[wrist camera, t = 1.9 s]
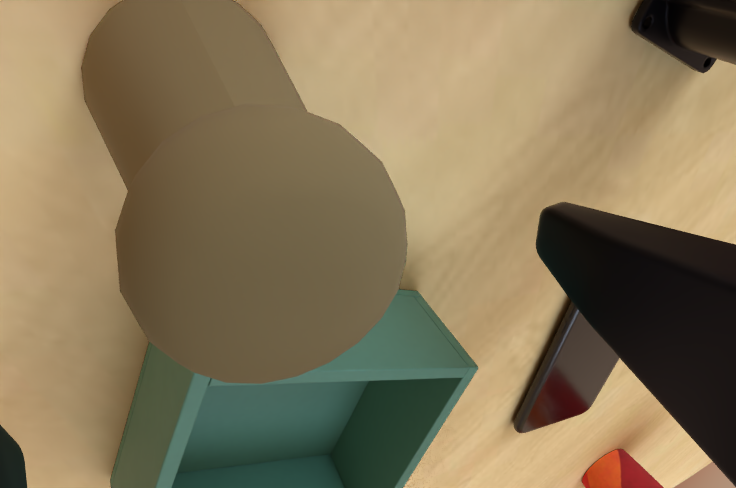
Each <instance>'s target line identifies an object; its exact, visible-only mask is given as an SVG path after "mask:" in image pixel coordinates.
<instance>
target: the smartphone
mask: <svg viewBox="0 0 736 488" xmlns="http://www.w3.org/2000/svg"><path fill="white" fill-rule="evenodd" d="M618 360H619V357H618V355H617V354H616V353H615V352H614V351H613V350H612V349H611V348H610V347H609V345H608V344H607V343H606V342H605V341H604V340H603V339H602V338H601V337H600V335H599V334H598V333H597V332H596V331H595V330H594V329H593V328H592V326H591V325H590V324H589V323H588V322H587V320H586V319H585V318H584V317H583V315H582V314H581V313H580V312H579V310H578V309H577V308H576V306H575V305H574V304H573V302H571V304H570V306H569V308H568V310H567V312H566V314H565V316H564V319H563V321H562V323H561V325H560V327H559V329H558V331H557V333H556V335H555V337H554V339H553V341H552V344H551V346H550V348H549V350H548V352H547V354H546V356H545V358H544V360H543V362H542V364H541V366H540V369H539V371H538V373H537V375H536V377H535V379H534V381H533V383H532V385H531V387H530V389H529V391H528V394H527V396H526V398H525V400H524V402H523V404H522V406H521V408H520V410H519V412H518V414H517V416H516V419H515V421H514V428H515V430H516V431H517V432H519V433H526V432H529V431H532V430H535V429H538V428H541V427H544V426H547V425H550V424H553V423H556V422H559V421H562V420H565V419H568V418H571V417H574V416H577V415H580V414H582V413H584V412H586V411H587V410H588V409H589V408H590V407H591V405H592V404H593V402H594V401H595V399H596V397H597V396H598V394H599V392H600V390H601V389H602V387H603V385H604V384H605V382H606V380H607V378H608V377H609V375H610V373H611V372H612V370H613V368H614V367H615V365H616V363H617V361H618Z"/></svg>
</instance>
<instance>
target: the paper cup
mask: <svg viewBox="0 0 736 488" xmlns="http://www.w3.org/2000/svg"><path fill="white" fill-rule="evenodd" d="M582 483H583V485H584V486H585V488H664V487H662V486H661V485H660V484H659V483H658V482H657V481H656V480H655V479H654V478H653V477H652V476H651V475H650V474H649V473H648V472H647V471H646V470H645V469H644V468H643V467H642V466H641V465H640V464H638V463H637V462H636V461H635V460H634V459H633V458H632V457H631V456H630V455H629V454H628V453H627V452H625V451H624V450H623V449H617V450H614V451H612V452H610V453H608V454H606V455H605V456H603V457H602V458H600V459H599V460H598V461H597V462H595V463H594V464H593V465H592V466H591V467H590V468H589V469H588V471H587V472H586V473H585V475H584V476H583V479H582Z"/></svg>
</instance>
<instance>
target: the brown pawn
mask: <svg viewBox="0 0 736 488" xmlns="http://www.w3.org/2000/svg"><path fill="white" fill-rule="evenodd" d="M81 70H82V79H83V89H84V98H85V102H86V104H87V106H88V108H89V110H90V112H91V115H92V117H93V119H94V121H95V123H96V125H97V127H98V129H99V131H100V133H101V136H102V138H103V140H104V142H105V144H106V146H107V148H108V150H109V152H110V154H111V156H112V158H113V160H114V162H115V164H116V167H117V169H118V171H119V173H120V175H121V177H122V179H123V181H124V183H125V185H126V187H127V189H128V193H127V196H126V199H125V202H124V205H123V208H122V211H121V214H120V217H119V220H118V223H117V226H116V229H115V235H116V249H117V261H118V272H119V284H120V292H121V293H122V295H123V297H124V299H125V300H126V302H127V304H128V306H129V307H130V309H131V311H132V313H133V315H134V316H135V318H136V320H137V322H138V323H139V325H140V327H141V328H142V330H143V332H144V334H145V335H146V337H147V339H148V340H149V342H150V343H152V344H153V345H154V346H156V347H157V348H158V349H160V350H161V351H162V352H164V353H165V354H166V355H168V356H169V357H170V358H172V359H173V360H174V361H175V362H177V363H178V364H180V365H182V366H183V367H185V368H187V369H189V370H190V371H192V372H194V373H197V374H200V375H203V376H206V377H210V378H213V379H216V380H219V381H222V382H226V383H251V384H263V383H268V382H273V381H278V380H282V379H287V378H292V377H297V376H299V375H301V374H304V373H306V372H308V371H311V370H313V369H315V368H318V367H320V366H322V365H325V364H327V363H329V362H331V361H332V360H334V359H335V358H337V357H338V356H340V355H341V354H342V353H344V352H345V351H347V350H348V349H350V348H351V347H353V346H354V345H356V344H357V343H358V342H359V341H360V340H361V339H362V338H363V337H364V336H365V335H366V334H367V333H368V332H369V331H370V330H371V329H372V328H373V327H374V326H375V325H376V324H377V323H378V322H379V320H380V319H381V318H382V317H383V315H384V313H385V312H386V310H387V308H388V307H389V305H390V303H391V302H392V300H393V298H394V296H395V295H396V293H397V291H398V289H399V285H400V281H401V278H402V274H403V270H404V266H405V262H406V254H407V232H406V219H405V210H404V208H403V205H402V203H401V201H400V198H399V196H398V194H397V192H396V190H395V188H394V186H393V183H392V181H391V179H390V177H389V175H388V173H387V171H386V169H385V167H384V165H383V163H382V162H381V161H380V160H379V159H378V158H377V157H376V156H375V155H374V154H373V153H372V152H370V151H369V150H368V149H367V148H366V147H365V146H364V145H363V144H362V143H360V142H359V141H358V140H357V139H356V138H355V137H354V136H352V135H351V134H350V133H349V132H348V131H347V130H346V129H345V128H343V127H342V126H341V125H340V124H338V123H335V122H332V121H330V120H327V119H324V118H322V117H319V116H317V115H314V114H311V113H309V112H307V110H306V108H305V106H304V104H303V102H302V100H301V98H300V96H299V94H298V93H297V91H296V89H295V87H294V85H293V83H292V81H291V79H290V77H289V75H288V73H287V72H286V70H285V68H284V66H283V64H282V62H281V60H280V58H279V56H278V54H277V52H276V51H275V49H274V47H273V45H272V44H271V42H270V40H269V38H268V37H267V35H266V33H265V31H264V29H263V28H262V26H261V25H260V24H259V23H258V22H257V21H256V20H255V19H254V18H253V17H252V16H251V15H250V14H249V13H247V12H246V11H245V10H244V9H243V8H242V7H241V6H240V5H239V4H238V3H236V2H234V1H232V0H124V1H122V2H120V3H119V4H117V5H116V6H114V7H112V8H111V9H109V11H108V12H107V14H106V15H105V16H104V18H103V19H102V20H101V22H100V23H99V24H98V26H97V27H96V28H95V30H94V31H93V32H92V34H91V35H90V37H89V41H88V45H87V48H86V52H85V56H84V60H83V63H82V67H81Z"/></svg>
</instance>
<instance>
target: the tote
mask: <svg viewBox="0 0 736 488" xmlns="http://www.w3.org/2000/svg"><path fill="white" fill-rule="evenodd" d="M477 370H478V366H477V365H476V363H475V362H474V361H473V360H472V358H471V357H470V356H469V355H468V353H467V352H466V351H465V350H464V348H463V347H462V346H461V345H460V343H459V342H458V341H457V340H456V338H455V337H454V336H453V335H452V333H451V332H450V331H449V330H448V328H447V327H446V326H445V325H444V323H443V322H442V321H441V320H440V318H439V317H438V316H437V315H436V313H435V312H434V311H433V310H432V308H431V307H430V306H429V305H428V303H427V302H426V301H425V300H424V298H423V297H422V296H421V295H420V293H419V292H418V291H412V290H400V289H398V291H397V293H396V295H395V296H394V298H393V300H392V302H391V303H390V305H389V307H388V308H387V310H386V312H385V313H384V315H383V317H382V318H381V319H380V320H379V322H378V323H377V324H376V325H375V326H374V327H373V328H372V329H371V330H370V331H369V332H368V333H367V334H366V335H365V336H364V337H363V338H362V339H361V340H360V341H359V342H358V343H357V344H356V345H354V346H353V347H351V348H350V349H348V350H347V351H345V352H344V353H342V354H341V355H340V356H338V357H337V358H335V359H334V360H332V361H331V362H329V363H327V364H325V365H322V366H320V367H318V368H315V369H313V370H311V371H308V372H306V373H304V374H301V375H299V376H297V377H292V378H287V379H282V380H278V381H273V382H268V383H263V384H251V383H226V382H222V381H219V380H216V379H213V378H210V377H206V376H203V375H200V374H197V373H194V372H192V371H190V370H189V369H187V368H185V367H183V366H182V365H180V364H178V363H177V362H175V361H174V360H173V359H172V358H170V357H169V356H168V355H166V354H165V353H164V352H162V351H161V350H160V349H158V348H157V347H156V346H154V345H153V344H152V343H150V342H149V345H148V348H147V352H146V355H145V359H144V362H143V366H142V369H141V373H140V376H139V380H138V383H137V387H136V391H135V394H134V398H133V401H132V405H131V408H130V412H129V415H128V419H127V422H126V426H125V430H124V433H123V437H122V440H121V444H120V447H119V451H118V454H117V458H116V461H115V465H114V468H113V472H112V476H111V479H110V483H111V488H403V487H404V485H405V484H406V482H407V481H408V479H409V477H410V476H411V474H412V473H413V471H414V470H415V468H416V466H417V465H418V463H419V462H420V460H421V458H422V457H423V455H424V454H425V452H426V450H427V449H428V447H429V446H430V444H431V443H432V441H433V439H434V438H435V436H436V435H437V433H438V431H439V430H440V428H441V427H442V425H443V424H444V422H445V420H446V419H447V417H448V416H449V414H450V412H451V411H452V409H453V408H454V406H455V404H456V403H457V401H458V400H459V398H460V397H461V395H462V393H463V392H464V390H465V389H466V387H467V385H468V384H469V382H470V381H471V379H472V378H473V376H474V374H475V373H476V371H477Z"/></svg>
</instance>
